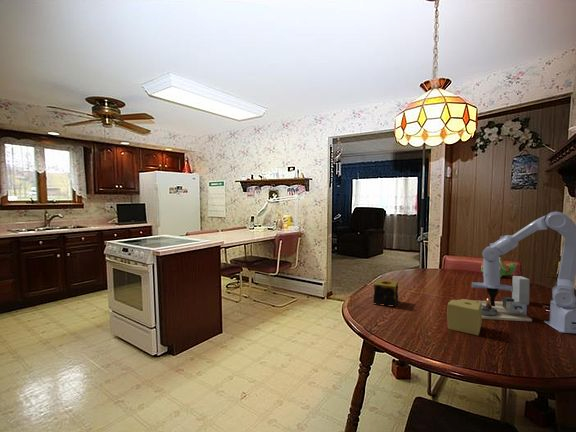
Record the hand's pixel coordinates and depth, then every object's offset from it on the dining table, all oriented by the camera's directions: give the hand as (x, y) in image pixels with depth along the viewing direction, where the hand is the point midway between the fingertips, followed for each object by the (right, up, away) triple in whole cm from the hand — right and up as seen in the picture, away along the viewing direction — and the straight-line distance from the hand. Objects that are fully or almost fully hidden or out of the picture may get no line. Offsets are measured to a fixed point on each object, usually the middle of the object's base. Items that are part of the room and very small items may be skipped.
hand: (492, 305), depth 124 cm
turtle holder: (+44, 0, +58) cm, 73 cm away
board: (+2, -3, +3) cm, 4 cm away
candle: (-41, -4, +15) cm, 44 cm away
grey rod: (+8, -2, -2) cm, 8 cm away
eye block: (+7, -3, -4) cm, 9 cm away
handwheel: (-4, -2, -1) cm, 5 cm away
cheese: (-20, -5, -13) cm, 24 cm away
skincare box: (+22, -2, +12) cm, 25 cm away
